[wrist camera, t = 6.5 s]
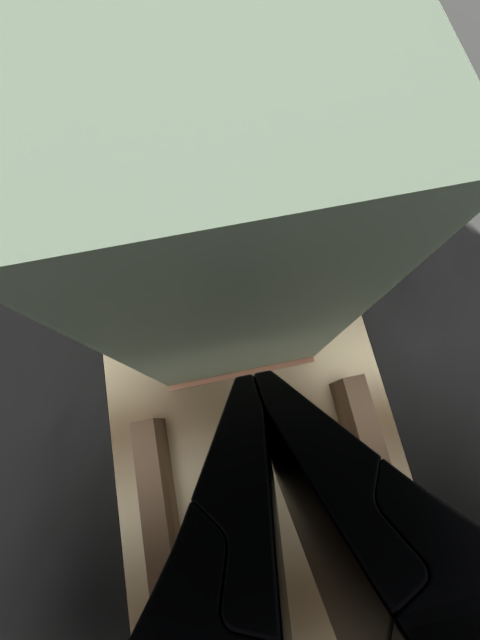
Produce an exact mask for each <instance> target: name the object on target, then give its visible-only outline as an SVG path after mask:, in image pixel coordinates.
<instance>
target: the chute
mask: <svg viewBox="0 0 480 640" xmlns="http://www.w3.org/2000/svg"><path fill="white" fill-rule="evenodd" d="M103 359H104V369H105V379H106V389H107V400H108V410H109V420H110V430H111V440H112V450H113V460H114V471H115V481H116V491H117V501H118V511H119V521H120V531H121V542H122V552H123V562H124V572H125V582H126V592H127V602H128V613H129V623H130V633H131V634H132V631H133V629H134V627H135V625H136V623H137V621H138V619H139V617H140V615H141V613H142V611H143V609H144V607H145V605H146V603H147V601H148V599H149V597H150V595H151V593H152V591H153V589H154V587H155V585H156V582H157V580H158V578H159V576H160V574H161V572H162V569H163V567H164V565H165V563H166V561H167V559H168V556H169V554H170V552H171V550H172V547H173V545H174V542H175V540H176V537H177V534H178V532H179V529H180V527H181V524H182V522H183V519H184V516H185V514H186V511H187V508H188V505H189V503H190V502H192V501H191V498H192V495H193V492H194V489H195V487H196V484H197V481H198V478H199V475H200V473H201V470H202V467H203V464H204V462H205V459H206V456H207V453H208V451H209V448H210V445H211V442H212V440H213V437H214V434H215V431H216V429H217V426H218V423H219V420H220V418H221V415H222V412H223V409H224V406H225V404H226V401H227V398H228V395H229V393H230V390H231V387H232V384H233V382H234V379H235V378H236V377H238V376H243V375H248V374H251V375H253V377H254V374H255V373H258V372H263V371H268V370H270V371H273V372H274V373H275V374H277V375H278V376H279V377H280V378H282V379H283V380H284V381H285V382H287V383H288V384H289V385H291V386H292V387H293V388H294V389H296V390H297V391H298V392H299V393H301V394H302V395H303V396H305V397H306V398H307V399H308V400H310V401H311V402H312V403H313V404H315V405H316V406H317V407H319V408H320V409H321V410H322V411H324V412H325V413H326V414H328V415H329V416H330V417H331V418H333V419H334V420H335V421H336V422H338V423H339V424H340V425H342V426H343V427H344V428H345V429H347V430H348V431H349V432H350V433H352V434H353V435H354V436H356V437H357V438H358V439H359V440H361V441H362V442H363V443H364V444H366V445H367V446H368V447H370V448H371V449H372V450H373V451H375V452H376V453H377V454H378V455H380V456H381V460H382V459H385V460H386V461H388V462H389V463H390V464H391V465H393V466H394V467H395V468H397V469H398V470H399V471H400V472H402V473H403V474H404V475H406V476H407V477H408V478H410V479H411V480H412V481H413V479H412V476H411V473H410V469H409V466H408V463H407V460H406V457H405V453H404V450H403V447H402V444H401V441H400V437H399V434H398V431H397V428H396V425H395V421H394V418H393V415H392V412H391V409H390V405H389V402H388V399H387V396H386V393H385V389H384V386H383V383H382V380H381V377H380V373H379V370H378V367H377V364H376V361H375V357H374V354H373V351H372V348H371V345H370V341H369V338H368V335H367V332H366V329H365V325H364V322H363V319H362V316H360V317H359V318H357V319H356V320H355V321H354V322H353V323H352V324H351V325H349V326H348V327H347V328H346V329H345V330H344V331H342V332H341V333H340V334H339V335H338V336H337V337H336V338H334V339H333V340H332V341H331V342H330V343H329V344H328V345H326V346H325V347H324V348H323V349H322V350H321V351H320V352H318V353H317V354H316V355H315V356H312V357H307V358H302V359H297V360H293V361H288V362H283V363H278V364H273V365H268V366H263V367H258V368H253V369H249V370H244V371H239V372H234V373H229V374H224V375H219V376H214V377H209V378H205V379H200V380H195V381H190V382H185V383H180V384H175V385H170V386H167V385H165V384H163V383H161V382H159V381H157V380H155V379H153V378H151V377H148V376H146V375H144V374H142V373H140V372H138V371H136V370H134V369H132V368H130V367H128V366H126V365H124V364H122V363H120V362H118V361H116V360H114V359H112V358H110V357H108V356H106V355H104V354H103ZM272 467H273V465H272ZM273 474H274V481H275V490H276V498H277V507H278V516H279V525H280V534H281V543H282V551H283V560H284V569H285V578H286V587H287V596H288V604H289V613H290V622H291V631H292V640H337V639H336V636H335V633H334V631H333V628H332V625H331V622H330V620H329V617H328V614H327V612H326V609H325V606H324V604H323V601H322V598H321V596H320V593H319V590H318V588H317V585H316V582H315V580H314V577H313V574H312V572H311V569H310V566H309V564H308V561H307V558H306V556H305V553H304V550H303V548H302V545H301V542H300V540H299V537H298V534H297V532H296V529H295V526H294V524H293V521H292V518H291V516H290V513H289V510H288V508H287V505H286V502H285V500H284V497H283V494H282V492H281V489H280V486H279V484H278V481H277V478H276V475H275V472H274V469H273Z"/></svg>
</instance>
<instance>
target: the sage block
mask: <svg viewBox="0 0 480 640" xmlns="http://www.w3.org/2000/svg"><path fill="white" fill-rule="evenodd" d="M479 212H480V81H479V79H478V77H477V75H476V73H475V71H474V69H473V67H472V65H471V63H470V61H469V59H468V57H467V55H466V53H465V51H464V49H463V47H462V45H461V43H460V41H459V39H458V37H457V35H456V33H455V31H454V29H453V27H452V26H451V24H450V21H449V19H448V18H447V15H446V14H445V12H444V10H443V8H442V6H441V4H440V2H439V0H0V304H2V305H4V306H6V307H8V308H10V309H12V310H14V311H16V312H18V313H20V314H22V315H24V316H26V317H28V318H30V319H32V320H34V321H36V322H38V323H40V324H42V325H45V326H47V327H49V328H51V329H53V330H55V331H57V332H59V333H61V334H63V335H65V336H67V337H69V338H71V339H73V340H75V341H77V342H79V343H81V344H83V345H85V346H87V347H89V348H91V349H93V350H95V351H98V352H100V353H102V354H104V355H106V356H108V357H110V358H112V359H114V360H116V361H118V362H120V363H122V364H124V365H126V366H128V367H130V368H132V369H134V370H136V371H138V372H140V373H142V374H144V375H146V376H148V377H151V378H153V379H155V380H157V381H159V382H161V383H163V384H165V385H167V386H170V385H175V384H180V383H185V382H190V381H195V380H200V379H205V378H209V377H214V376H219V375H224V374H229V373H234V372H239V371H244V370H249V369H253V368H258V367H263V366H268V365H273V364H278V363H283V362H288V361H293V360H297V359H302V358H307V357H312V356H315V355H316V354H317V353H318V352H320V351H321V350H322V349H323V348H324V347H325V346H326V345H328V344H329V343H330V342H331V341H332V340H333V339H334V338H336V337H337V336H338V335H339V334H340V333H341V332H342V331H344V330H345V329H346V328H347V327H348V326H349V325H351V324H352V323H353V322H354V321H355V320H356V319H357V318H359V317H360V316H361V315H362V314H363V313H364V312H365V311H367V310H368V309H369V308H370V307H371V306H372V305H373V304H375V303H376V302H377V301H378V300H379V299H380V298H382V297H383V296H384V295H385V294H386V293H387V292H388V291H390V290H391V289H392V288H393V287H394V286H395V285H396V284H398V283H399V282H400V281H401V280H402V279H403V278H404V277H406V276H407V275H408V274H409V273H410V272H411V271H412V270H414V269H415V268H416V267H417V266H418V265H419V264H421V263H422V262H423V261H424V260H425V259H426V258H427V257H429V256H430V255H431V254H432V253H433V252H434V251H435V250H437V249H438V248H439V247H440V246H441V245H442V244H443V243H445V242H446V241H447V240H448V239H449V238H450V237H452V236H453V235H454V234H455V233H456V232H457V231H458V230H460V229H461V228H462V227H463V226H464V225H465V224H466V223H468V222H469V221H470V220H471V219H472V218H473V217H474V216H475V215H477V214H478V213H479Z"/></svg>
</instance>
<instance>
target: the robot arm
mask: <svg viewBox="0 0 480 640" xmlns="http://www.w3.org/2000/svg"><path fill="white" fill-rule="evenodd" d="M272 465H273V467H272ZM273 469H274V472H275V475H276V478H277V481H278V484H279V486H280V489H281V492H282V494H283V497H284V500H285V502H286V505H287V508H288V510H289V513H290V516H291V518H292V521H293V524H294V526H295V529H296V532H297V534H298V537H299V540H300V542H301V545H302V548H303V550H304V553H305V556H306V558H307V561H308V564H309V566H310V569H311V572H312V574H313V577H314V580H315V582H316V585H317V588H318V590H319V593H320V596H321V598H322V601H323V604H324V606H325V609H326V612H327V614H328V617H329V620H330V622H331V625H332V628H333V631H334V633H335V636H336V639H337V640H480V526H478V525H477V524H475V523H473V522H472V521H470V520H469V519H467V518H466V517H464V516H463V515H461V514H460V513H458V512H457V511H455V510H454V509H452V508H451V507H449V506H448V505H446V504H445V503H443V502H442V501H440V500H439V499H437V498H436V497H435V496H433V495H432V494H430V493H429V492H427V491H426V490H425V489H423V488H422V487H421V486H419V485H418V484H416V483H415V482H414V481H412V480H411V479H410V478H408V477H407V476H406V475H404V474H403V473H402V472H400V471H399V470H398V469H397V468H395V467H394V466H393V465H391V464H390V463H389V462H388V461H386V460H385V459H382V460H381V456H380V455H378V454H377V453H376V452H375V451H373V450H372V449H371V448H370V447H368V446H367V445H366V444H364V443H363V442H362V441H361V440H359V439H358V438H357V437H356V436H354V435H353V434H352V433H350V432H349V431H348V430H347V429H345V428H344V427H343V426H342V425H340V424H339V423H338V422H336V421H335V420H334V419H333V418H331V417H330V416H329V415H328V414H326V413H325V412H324V411H322V410H321V409H320V408H319V407H317V406H316V405H315V404H313V403H312V402H311V401H310V400H308V399H307V398H306V397H305V396H303V395H302V394H301V393H299V392H298V391H297V390H296V389H294V388H293V387H292V386H291V385H289V384H288V383H287V382H285V381H284V380H283V379H282V378H280V377H279V376H278V375H277V374H275V373H274V372H273V371H270V370H268V371H263V372H258V373H255V374H254V377H253V375H251V374H248V375H243V376H238V377H236V378H235V379H234V382H233V384H232V387H231V390H230V393H229V395H228V398H227V401H226V404H225V406H224V409H223V412H222V415H221V418H220V420H219V423H218V426H217V429H216V431H215V434H214V437H213V440H212V442H211V445H210V448H209V451H208V453H207V456H206V459H205V462H204V464H203V467H202V470H201V473H200V475H199V478H198V481H197V484H196V487H195V489H194V492H193V495H192V498H191V501H192V502H190V503H189V505H188V508H187V511H186V514H185V516H184V519H183V522H182V524H181V527H180V529H179V532H178V534H177V537H176V540H175V542H174V545H173V547H172V550H171V552H170V554H169V556H168V559H167V561H166V563H165V565H164V567H163V569H162V572H161V574H160V576H159V578H158V580H157V582H156V585H155V587H154V589H153V591H152V593H151V595H150V597H149V599H148V601H147V603H146V605H145V607H144V609H143V611H142V613H141V615H140V617H139V619H138V621H137V623H136V625H135V627H134V629H133V631H132V634H131V636H130V638H129V640H292V631H291V622H290V613H289V604H288V596H287V587H286V578H285V569H284V560H283V551H282V543H281V534H280V525H279V516H278V507H277V498H276V490H275V481H274V474H273Z"/></svg>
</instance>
